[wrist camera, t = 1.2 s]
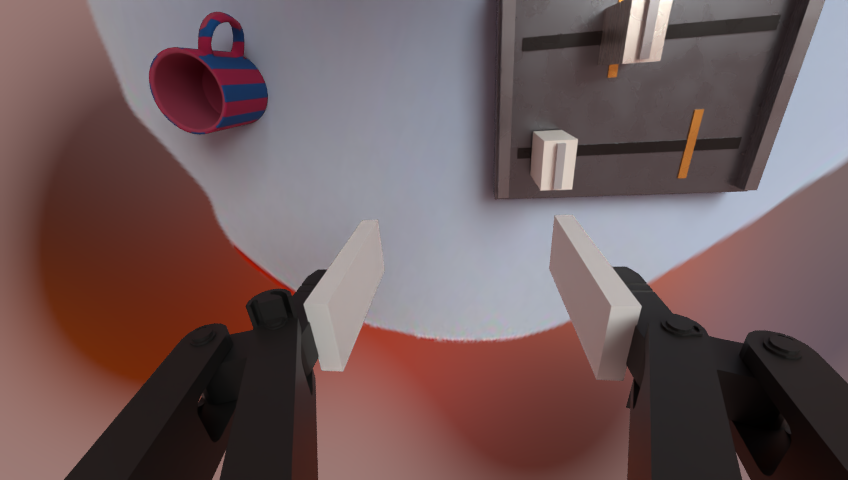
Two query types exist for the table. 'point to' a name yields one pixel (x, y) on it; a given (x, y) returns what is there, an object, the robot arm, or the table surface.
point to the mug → (208, 83)
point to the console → (646, 90)
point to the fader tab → (553, 159)
